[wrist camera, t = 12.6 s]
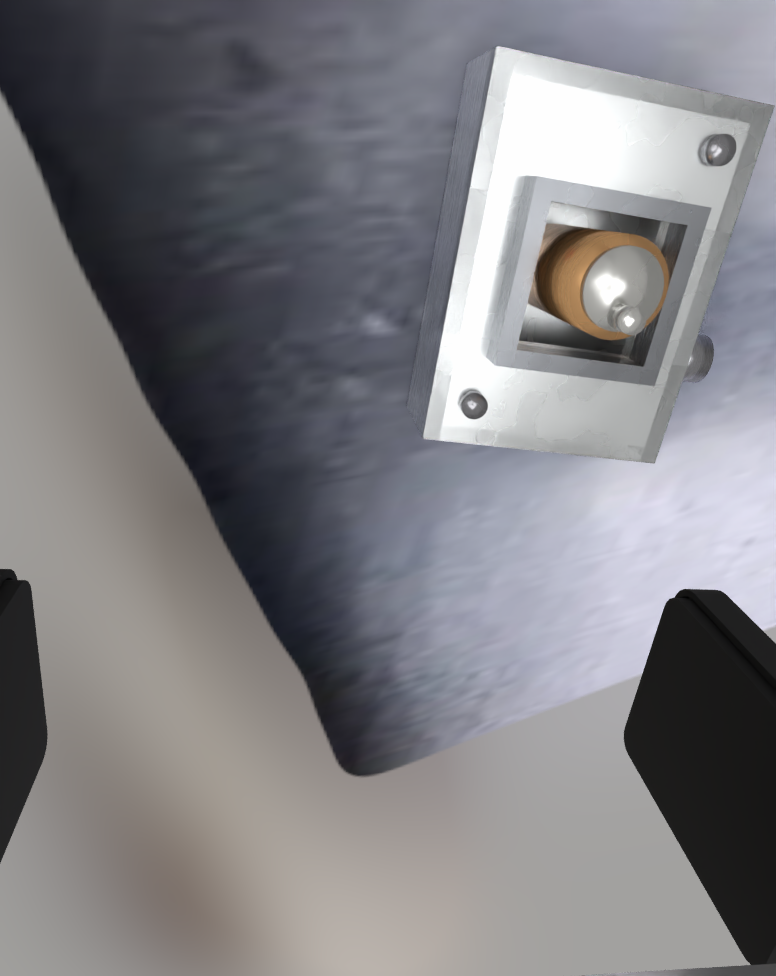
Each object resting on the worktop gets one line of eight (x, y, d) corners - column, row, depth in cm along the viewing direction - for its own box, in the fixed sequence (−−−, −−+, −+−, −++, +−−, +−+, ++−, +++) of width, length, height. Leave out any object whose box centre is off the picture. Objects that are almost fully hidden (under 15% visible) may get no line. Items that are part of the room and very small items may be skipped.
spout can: (514, 222, 33) (595, 235, 24) (594, 224, 34) (700, 238, 25) (506, 307, 35) (578, 348, 26) (582, 308, 35) (678, 349, 27)
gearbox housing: (466, 63, 31) (507, 39, 25) (746, 121, 33) (842, 112, 28) (406, 405, 37) (428, 450, 31) (645, 433, 40) (706, 479, 34)
